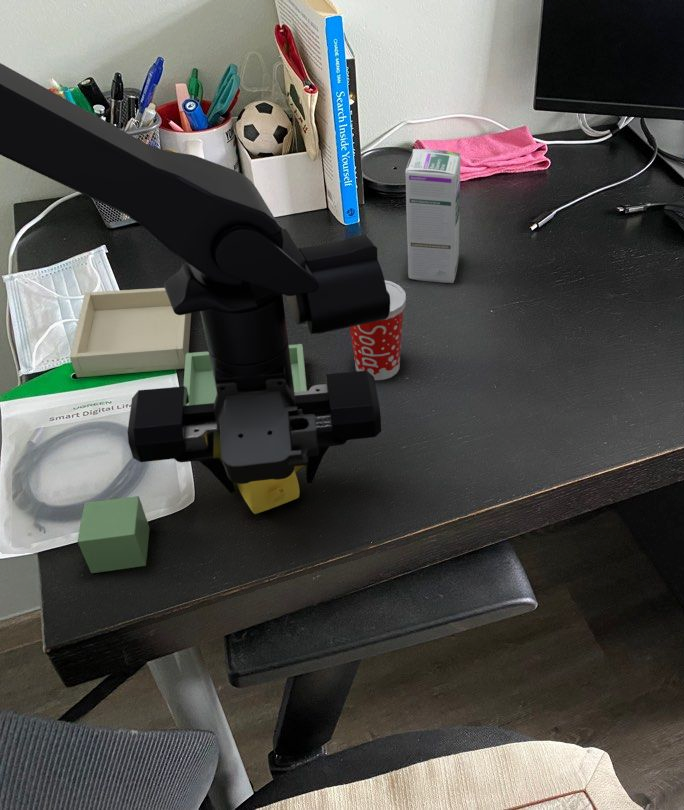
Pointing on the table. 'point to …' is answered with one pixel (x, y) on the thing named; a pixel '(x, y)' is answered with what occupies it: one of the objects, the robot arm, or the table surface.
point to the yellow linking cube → (270, 492)
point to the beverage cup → (381, 339)
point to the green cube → (114, 534)
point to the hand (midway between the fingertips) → (271, 484)
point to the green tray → (202, 379)
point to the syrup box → (433, 214)
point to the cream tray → (129, 333)
